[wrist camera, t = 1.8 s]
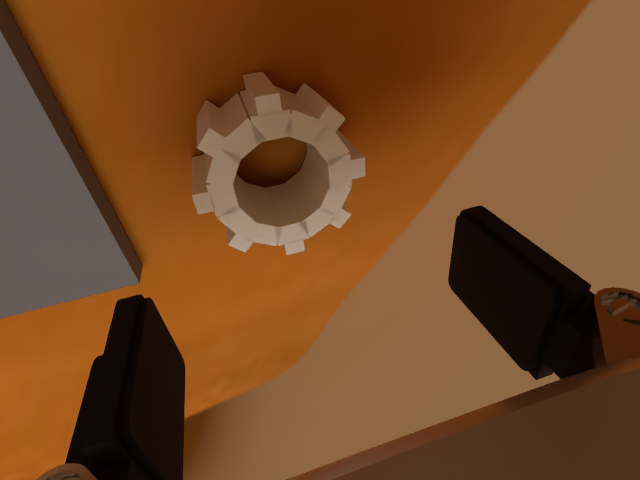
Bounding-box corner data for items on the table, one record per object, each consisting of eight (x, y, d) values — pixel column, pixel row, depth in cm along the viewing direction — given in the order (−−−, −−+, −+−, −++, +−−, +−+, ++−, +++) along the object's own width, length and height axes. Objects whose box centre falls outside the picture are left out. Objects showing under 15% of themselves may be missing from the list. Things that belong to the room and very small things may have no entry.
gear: (168, 87, 16) (162, 114, 12) (330, 59, 17) (362, 77, 14) (215, 226, 20) (219, 272, 17) (341, 197, 21) (367, 234, 18)
